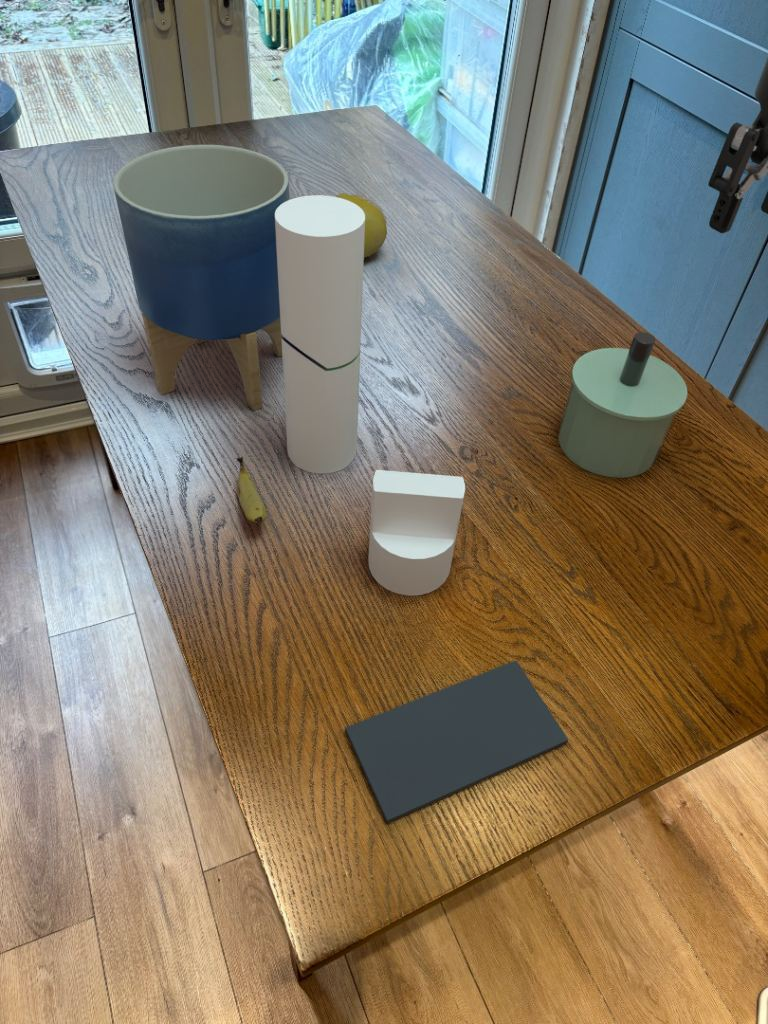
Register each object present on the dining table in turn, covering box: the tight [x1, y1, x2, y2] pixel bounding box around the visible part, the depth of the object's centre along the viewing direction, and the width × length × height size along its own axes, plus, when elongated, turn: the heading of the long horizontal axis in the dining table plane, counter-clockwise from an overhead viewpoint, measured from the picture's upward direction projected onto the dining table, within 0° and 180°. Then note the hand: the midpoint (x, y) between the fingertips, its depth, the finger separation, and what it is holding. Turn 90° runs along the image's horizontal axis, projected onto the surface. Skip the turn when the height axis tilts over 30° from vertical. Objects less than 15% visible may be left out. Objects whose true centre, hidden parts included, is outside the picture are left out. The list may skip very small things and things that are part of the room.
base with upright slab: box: [367, 469, 466, 597], centre depth 77 cm, size 9×9×12 cm
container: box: [275, 194, 365, 475], centre depth 82 cm, size 9×9×30 cm
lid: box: [571, 331, 688, 421], centre depth 88 cm, size 14×14×7 cm
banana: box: [236, 456, 267, 524], centre depth 84 cm, size 10×2×4 cm, turn 19°
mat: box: [344, 660, 569, 824], centre depth 67 cm, size 18×9×1 cm, turn 115°
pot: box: [557, 381, 677, 479], centre depth 93 cm, size 13×13×10 cm
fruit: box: [334, 192, 388, 259], centre depth 124 cm, size 10×11×10 cm
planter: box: [112, 144, 290, 411], centre depth 93 cm, size 19×19×26 cm
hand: (744, 221), depth 80 cm, fingers open, 8 cm apart
